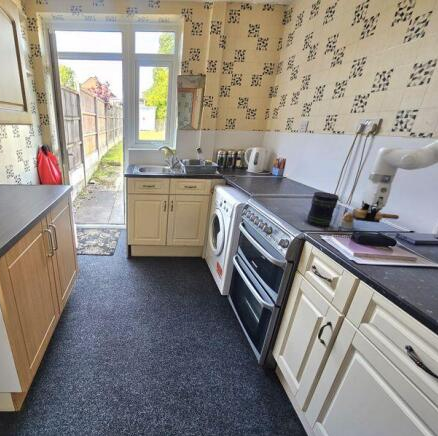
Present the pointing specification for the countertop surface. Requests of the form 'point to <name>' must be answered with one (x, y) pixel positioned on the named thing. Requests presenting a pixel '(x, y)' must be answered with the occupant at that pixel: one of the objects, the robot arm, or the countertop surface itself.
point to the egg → (347, 221)
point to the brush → (360, 215)
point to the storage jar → (322, 209)
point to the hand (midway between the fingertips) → (365, 218)
